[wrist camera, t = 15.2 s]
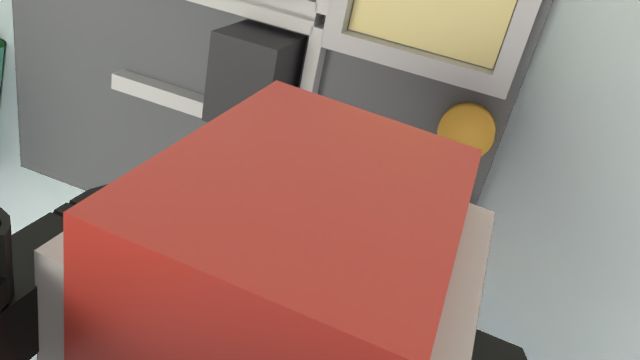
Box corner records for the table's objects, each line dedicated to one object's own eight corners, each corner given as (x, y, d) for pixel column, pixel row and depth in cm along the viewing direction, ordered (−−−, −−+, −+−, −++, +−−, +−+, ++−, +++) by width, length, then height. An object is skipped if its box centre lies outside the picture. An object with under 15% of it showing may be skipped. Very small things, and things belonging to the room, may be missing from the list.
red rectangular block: (245, 248, 16) (64, 449, 10) (276, 80, 13) (62, 212, 7) (415, 317, 15) (330, 589, 9) (482, 150, 12) (427, 367, 6)
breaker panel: (35, 159, 36) (-28, 188, 32) (19, -244, 26) (-75, -276, 22) (435, 307, 30) (421, 365, 26) (599, -129, 21) (616, -144, 17)
